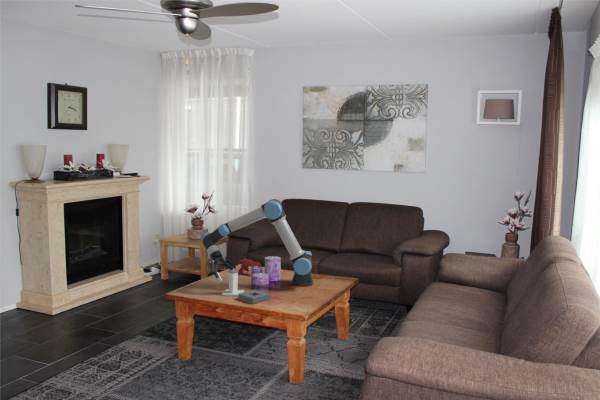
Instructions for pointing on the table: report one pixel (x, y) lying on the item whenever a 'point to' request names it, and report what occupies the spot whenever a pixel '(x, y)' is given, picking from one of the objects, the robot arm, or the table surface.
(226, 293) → the pad
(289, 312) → the table surface
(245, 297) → the grey square socket block
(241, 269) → the decorative bird sculpture
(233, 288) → the plug
